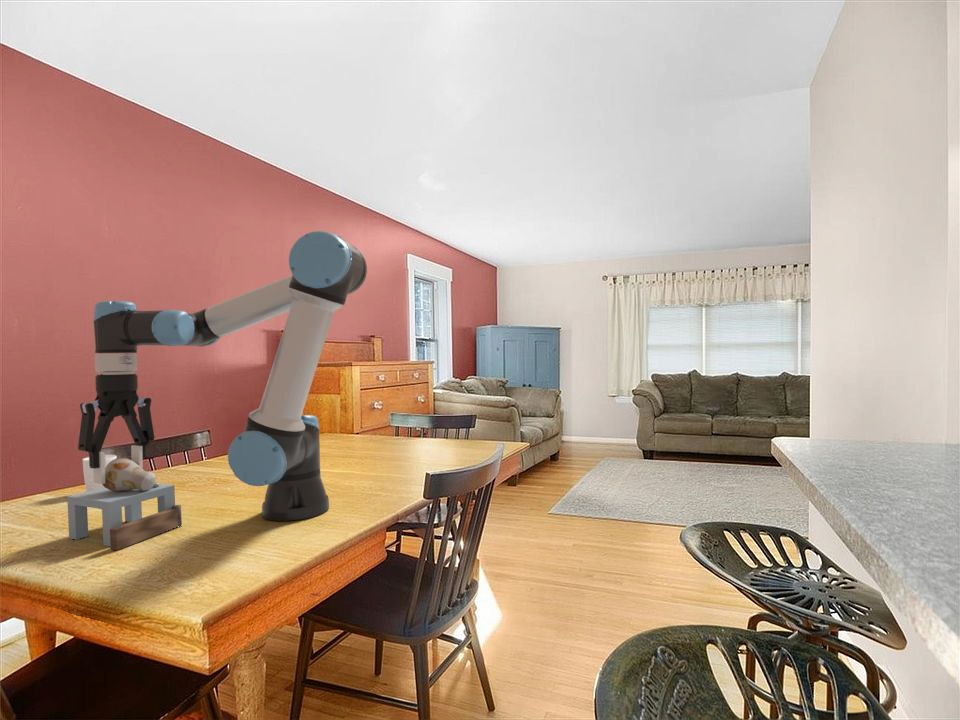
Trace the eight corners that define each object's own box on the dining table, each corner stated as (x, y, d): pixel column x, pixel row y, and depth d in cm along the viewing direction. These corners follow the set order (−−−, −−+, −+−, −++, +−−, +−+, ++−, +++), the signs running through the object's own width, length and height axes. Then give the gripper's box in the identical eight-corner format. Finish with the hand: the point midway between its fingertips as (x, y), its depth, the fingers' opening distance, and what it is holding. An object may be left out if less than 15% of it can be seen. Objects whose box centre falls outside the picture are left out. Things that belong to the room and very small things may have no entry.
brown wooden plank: (177, 525, 119) (176, 504, 119) (183, 525, 119) (182, 505, 119) (110, 550, 105) (109, 526, 105) (117, 551, 104) (116, 527, 104)
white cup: (122, 491, 152) (121, 456, 152) (91, 497, 146) (89, 461, 146) (110, 487, 157) (109, 453, 157) (78, 494, 150) (77, 458, 150)
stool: (176, 525, 119) (174, 485, 119) (111, 547, 107) (109, 502, 106) (135, 518, 125) (133, 480, 125) (69, 538, 112) (67, 496, 112)
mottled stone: (146, 495, 112) (116, 456, 110) (115, 513, 114) (86, 475, 113) (171, 478, 119) (144, 441, 117) (141, 495, 121) (114, 460, 120)
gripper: (75, 375, 104) (78, 492, 105) (172, 371, 123) (174, 470, 123) (53, 375, 108) (56, 488, 108) (150, 371, 126) (152, 467, 126)
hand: (119, 478), depth 116 cm, fingers closed on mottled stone, 7 cm apart
